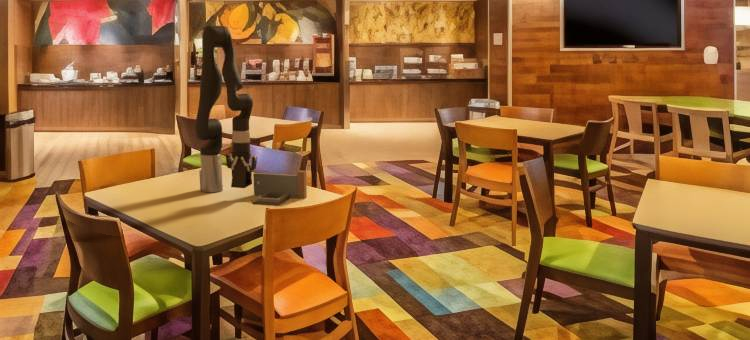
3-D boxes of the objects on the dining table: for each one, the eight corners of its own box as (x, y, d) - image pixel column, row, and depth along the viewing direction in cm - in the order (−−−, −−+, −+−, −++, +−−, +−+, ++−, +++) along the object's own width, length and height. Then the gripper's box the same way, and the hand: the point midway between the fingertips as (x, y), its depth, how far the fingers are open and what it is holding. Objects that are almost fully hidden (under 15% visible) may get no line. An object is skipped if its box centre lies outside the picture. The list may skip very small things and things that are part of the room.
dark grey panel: (253, 195, 278) (252, 169, 275) (256, 194, 281) (255, 168, 279) (303, 199, 272) (303, 172, 270) (306, 197, 276) (306, 170, 274)
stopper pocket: (252, 203, 264) (252, 199, 264) (265, 196, 278) (265, 191, 277) (279, 205, 262) (279, 200, 261) (290, 197, 275) (290, 193, 275)
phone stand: (244, 188, 266) (243, 161, 263) (231, 187, 267) (230, 160, 264) (252, 183, 274) (252, 157, 272) (239, 182, 275) (239, 156, 273)
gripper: (221, 140, 264) (222, 179, 268) (253, 143, 261) (253, 181, 265) (229, 138, 271) (230, 175, 275) (260, 140, 268) (260, 178, 272)
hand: (241, 178), depth 270 cm, fingers closed on phone stand, 6 cm apart
